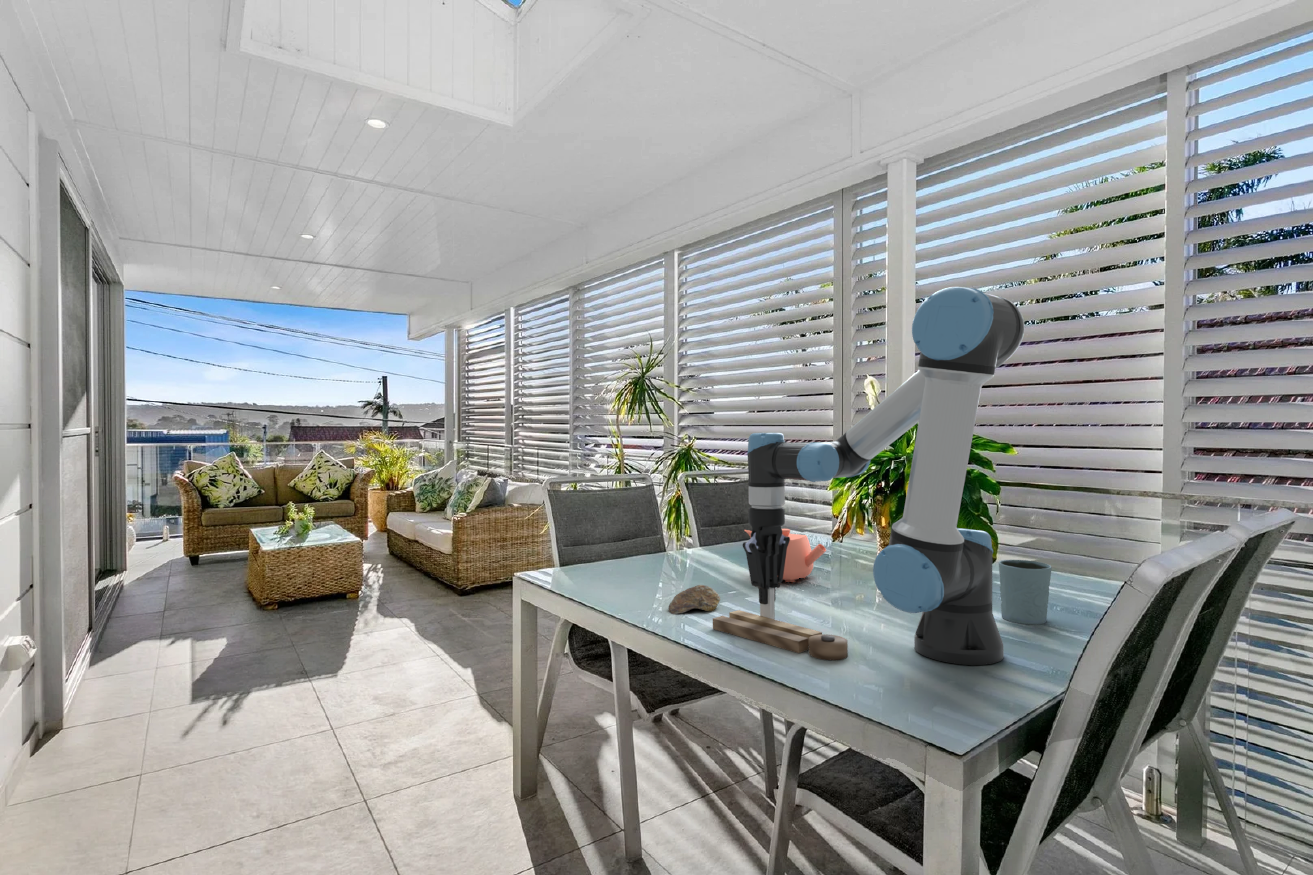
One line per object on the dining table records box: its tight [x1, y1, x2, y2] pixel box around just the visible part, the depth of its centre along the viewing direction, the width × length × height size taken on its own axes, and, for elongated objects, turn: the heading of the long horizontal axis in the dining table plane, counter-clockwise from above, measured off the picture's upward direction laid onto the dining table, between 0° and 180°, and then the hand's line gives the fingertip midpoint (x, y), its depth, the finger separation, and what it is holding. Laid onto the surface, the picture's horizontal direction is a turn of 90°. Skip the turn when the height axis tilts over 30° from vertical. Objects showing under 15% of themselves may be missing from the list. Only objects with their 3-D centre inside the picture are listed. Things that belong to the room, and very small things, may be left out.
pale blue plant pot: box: [998, 559, 1052, 625], centre depth 149 cm, size 10×10×12 cm
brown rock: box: [668, 584, 721, 615], centre depth 161 cm, size 10×12×5 cm
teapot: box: [744, 528, 827, 583], centre depth 192 cm, size 18×18×14 cm
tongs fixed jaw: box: [712, 615, 849, 661], centre depth 136 cm, size 30×7×3 cm, turn 42°
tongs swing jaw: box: [728, 609, 823, 647], centre depth 140 cm, size 22×3×2 cm, turn 39°
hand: (767, 618), depth 144 cm, fingers closed
